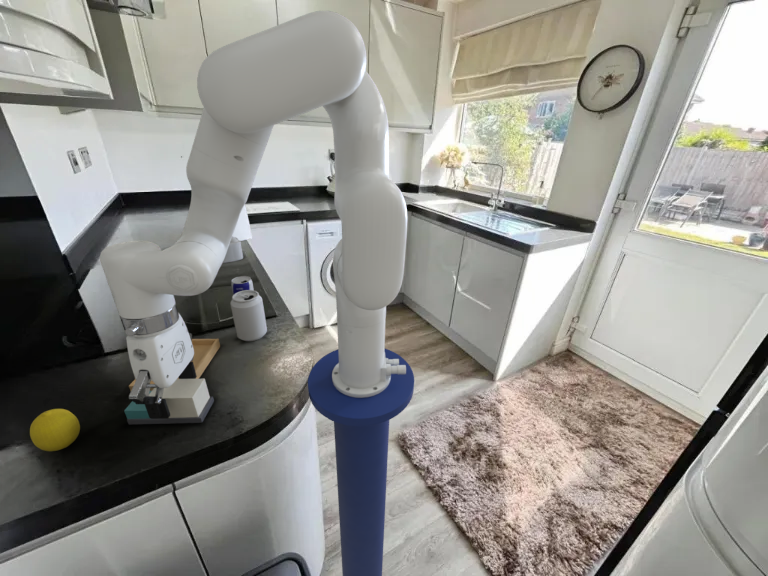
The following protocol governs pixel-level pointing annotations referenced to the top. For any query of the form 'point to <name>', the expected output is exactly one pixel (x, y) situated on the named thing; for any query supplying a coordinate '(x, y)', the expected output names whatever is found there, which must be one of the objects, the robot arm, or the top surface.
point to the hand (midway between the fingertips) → (175, 396)
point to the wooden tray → (199, 356)
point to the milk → (243, 226)
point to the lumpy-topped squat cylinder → (234, 251)
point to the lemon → (54, 429)
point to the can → (248, 315)
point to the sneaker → (176, 404)
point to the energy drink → (241, 284)
